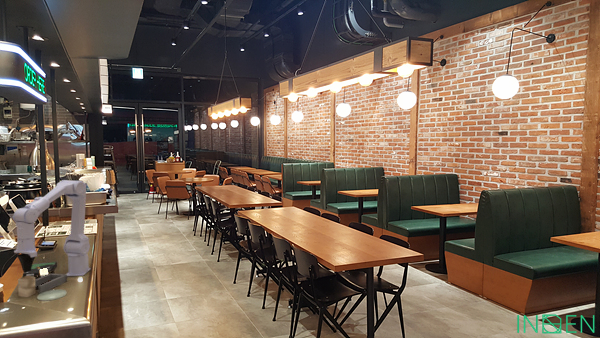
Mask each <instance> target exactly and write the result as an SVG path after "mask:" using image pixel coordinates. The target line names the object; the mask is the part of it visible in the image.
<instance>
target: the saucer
mask: <svg viewBox="0 0 600 338" xmlns="http://www.w3.org/2000/svg"><path fill="white" fill-rule="evenodd" d="M67 294H68V293H67V290H66V289H59V288H58V289H50V290H48V291H45V292H43V293H38V294H37V296H36V299H37V300H38V301H43V302H45V301H46V302H47V301H48V302H49V301H55V300H58V299H61V298H64V297H65V296H66V295H67Z"/></svg>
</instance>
